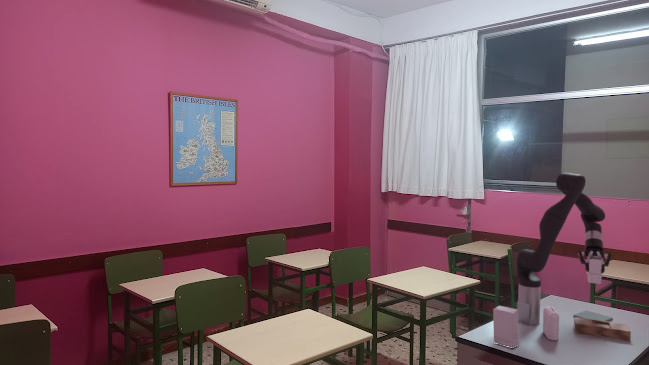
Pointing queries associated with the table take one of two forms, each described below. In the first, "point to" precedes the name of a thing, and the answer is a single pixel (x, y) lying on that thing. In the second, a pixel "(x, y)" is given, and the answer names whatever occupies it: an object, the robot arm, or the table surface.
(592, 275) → the lever cap
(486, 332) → the table surface
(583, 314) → the rubber mat
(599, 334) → the body
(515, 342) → the skincare box
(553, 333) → the photo printer
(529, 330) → the table surface
